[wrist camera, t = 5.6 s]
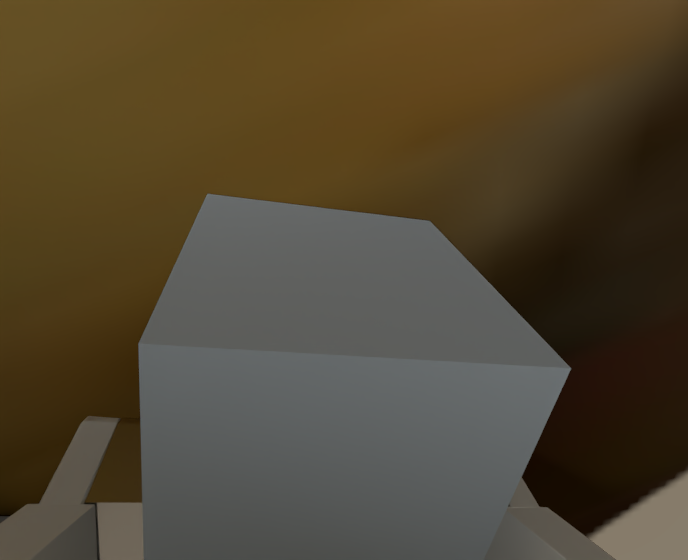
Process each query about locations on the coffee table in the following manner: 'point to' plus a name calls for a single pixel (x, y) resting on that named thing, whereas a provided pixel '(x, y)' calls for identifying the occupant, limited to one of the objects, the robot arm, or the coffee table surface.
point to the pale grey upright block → (332, 391)
